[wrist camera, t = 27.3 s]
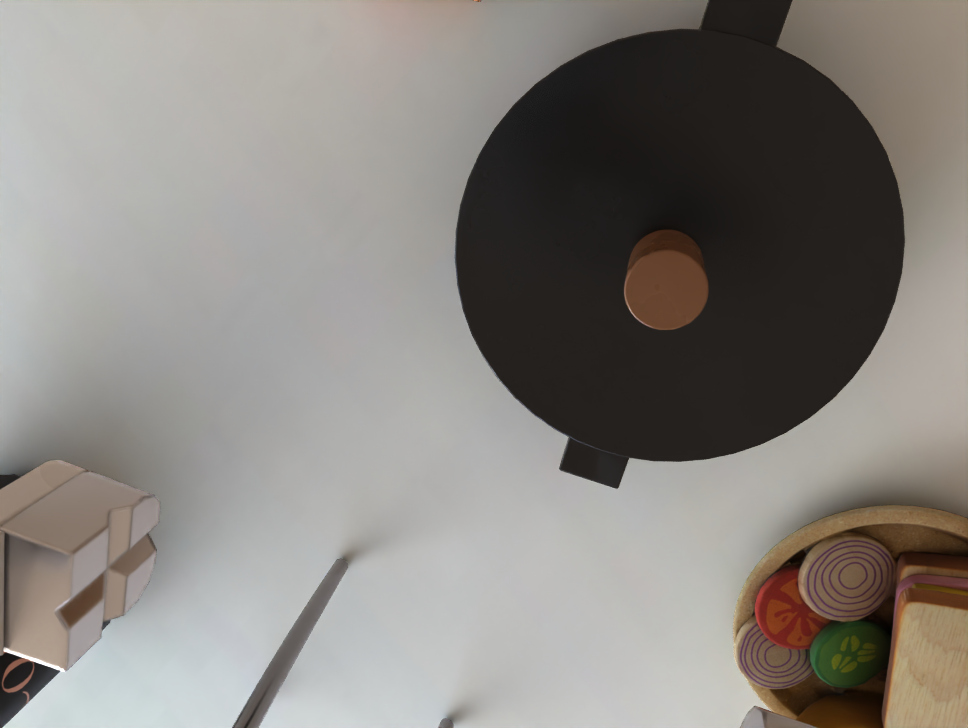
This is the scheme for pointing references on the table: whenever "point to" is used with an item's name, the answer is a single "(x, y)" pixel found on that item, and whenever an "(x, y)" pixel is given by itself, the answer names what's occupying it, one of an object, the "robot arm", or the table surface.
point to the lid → (679, 245)
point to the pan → (731, 8)
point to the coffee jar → (21, 668)
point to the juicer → (294, 653)
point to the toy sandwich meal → (861, 621)
